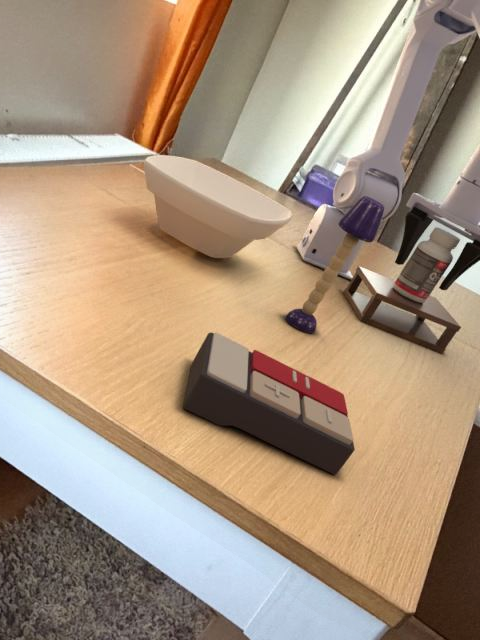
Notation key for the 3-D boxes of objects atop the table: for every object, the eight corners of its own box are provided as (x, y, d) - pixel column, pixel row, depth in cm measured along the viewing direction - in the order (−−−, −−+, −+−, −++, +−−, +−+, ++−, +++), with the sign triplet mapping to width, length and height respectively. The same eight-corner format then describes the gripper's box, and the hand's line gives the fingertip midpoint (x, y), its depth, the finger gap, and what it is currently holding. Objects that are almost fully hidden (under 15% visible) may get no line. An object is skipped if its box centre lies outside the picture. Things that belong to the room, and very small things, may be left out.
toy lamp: (319, 329, 99) (391, 205, 90) (317, 340, 95) (392, 212, 86) (286, 313, 99) (354, 188, 90) (283, 323, 95) (354, 193, 86)
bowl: (277, 270, 115) (306, 216, 110) (229, 288, 99) (260, 225, 94) (167, 209, 120) (189, 154, 115) (104, 216, 104) (127, 153, 99)
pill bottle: (419, 306, 110) (461, 242, 105) (387, 288, 112) (426, 225, 106) (427, 302, 114) (467, 240, 109) (396, 284, 116) (434, 223, 110)
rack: (360, 320, 110) (377, 292, 107) (342, 292, 119) (358, 265, 117) (442, 353, 112) (461, 327, 109) (419, 323, 122) (436, 297, 119)
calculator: (361, 444, 64) (205, 367, 63) (332, 482, 67) (182, 408, 66) (349, 392, 73) (212, 323, 72) (324, 426, 76) (192, 361, 75)
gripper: (533, 210, 104) (471, 299, 111) (442, 164, 109) (389, 252, 117) (521, 208, 99) (457, 301, 106) (426, 160, 104) (372, 252, 112)
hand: (420, 276), depth 111 cm, fingers open, 7 cm apart
